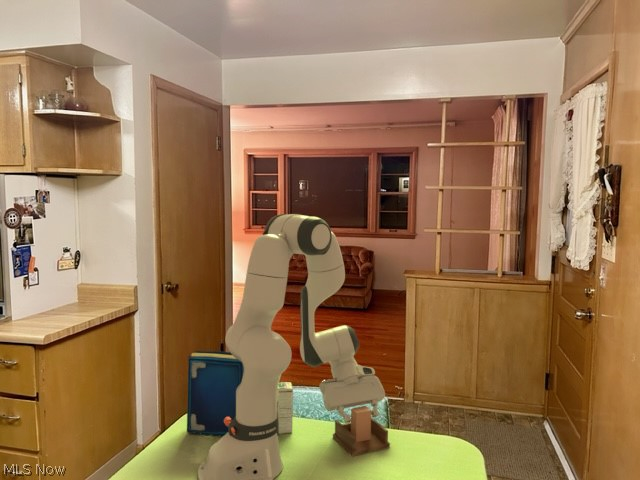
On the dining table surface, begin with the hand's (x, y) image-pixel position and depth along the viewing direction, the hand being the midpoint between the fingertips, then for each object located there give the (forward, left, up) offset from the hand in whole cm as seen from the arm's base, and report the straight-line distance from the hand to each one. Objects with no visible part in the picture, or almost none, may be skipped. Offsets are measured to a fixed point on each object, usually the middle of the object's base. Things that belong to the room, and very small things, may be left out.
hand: (362, 419), depth 136 cm
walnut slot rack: (0, +1, -7) cm, 7 cm away
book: (-37, +24, -8) cm, 45 cm away
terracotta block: (0, +1, -6) cm, 6 cm away
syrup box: (-19, +18, -8) cm, 27 cm away
